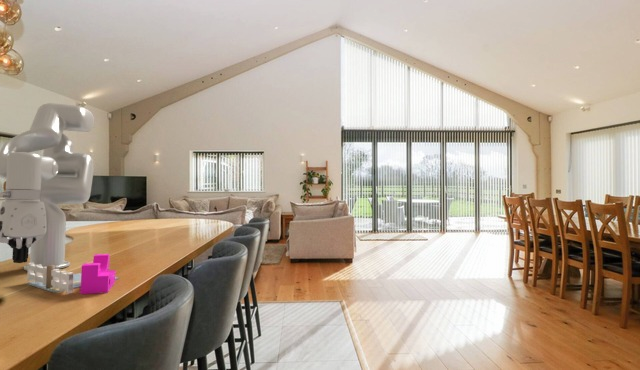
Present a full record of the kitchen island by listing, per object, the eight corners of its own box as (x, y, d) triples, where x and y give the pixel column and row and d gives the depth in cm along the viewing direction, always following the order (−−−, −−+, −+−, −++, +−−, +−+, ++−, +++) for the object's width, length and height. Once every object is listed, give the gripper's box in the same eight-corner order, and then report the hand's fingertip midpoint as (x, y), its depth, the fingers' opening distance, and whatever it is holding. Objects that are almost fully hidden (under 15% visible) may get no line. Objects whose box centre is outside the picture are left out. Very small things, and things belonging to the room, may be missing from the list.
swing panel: (49, 284, 98) (50, 266, 98) (44, 285, 97) (45, 267, 97) (32, 279, 103) (32, 262, 103) (27, 280, 102) (27, 263, 102)
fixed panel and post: (44, 289, 97) (45, 265, 97) (52, 287, 98) (53, 264, 98) (66, 295, 91) (67, 271, 91) (74, 294, 93) (74, 269, 93)
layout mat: (26, 283, 101) (26, 282, 101) (90, 272, 117) (90, 270, 117) (54, 292, 93) (54, 290, 93) (119, 278, 109) (119, 277, 109)
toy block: (107, 292, 95) (108, 264, 95) (80, 294, 92) (81, 265, 92) (117, 277, 109) (118, 253, 109) (94, 279, 106) (95, 254, 106)
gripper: (0, 195, 90) (-4, 268, 89) (60, 196, 104) (57, 259, 103) (-18, 196, 93) (-22, 266, 92) (42, 197, 107) (39, 257, 106)
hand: (20, 262), depth 98 cm, fingers closed
